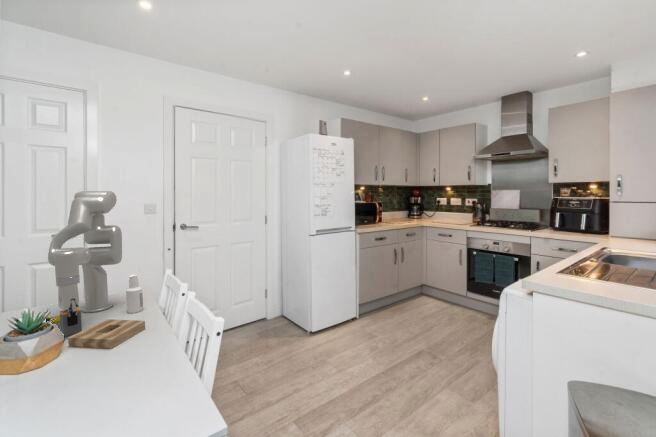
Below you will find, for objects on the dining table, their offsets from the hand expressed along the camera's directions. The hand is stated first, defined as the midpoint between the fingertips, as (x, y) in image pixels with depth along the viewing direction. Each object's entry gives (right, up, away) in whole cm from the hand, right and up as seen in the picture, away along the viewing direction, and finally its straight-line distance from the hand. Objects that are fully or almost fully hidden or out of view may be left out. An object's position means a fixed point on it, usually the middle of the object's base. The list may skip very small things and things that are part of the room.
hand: (71, 323), depth 130 cm
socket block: (+18, -4, -4) cm, 19 cm away
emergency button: (-18, -5, +8) cm, 20 cm away
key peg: (0, -4, 0) cm, 4 cm away
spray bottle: (+11, -3, +26) cm, 28 cm away
